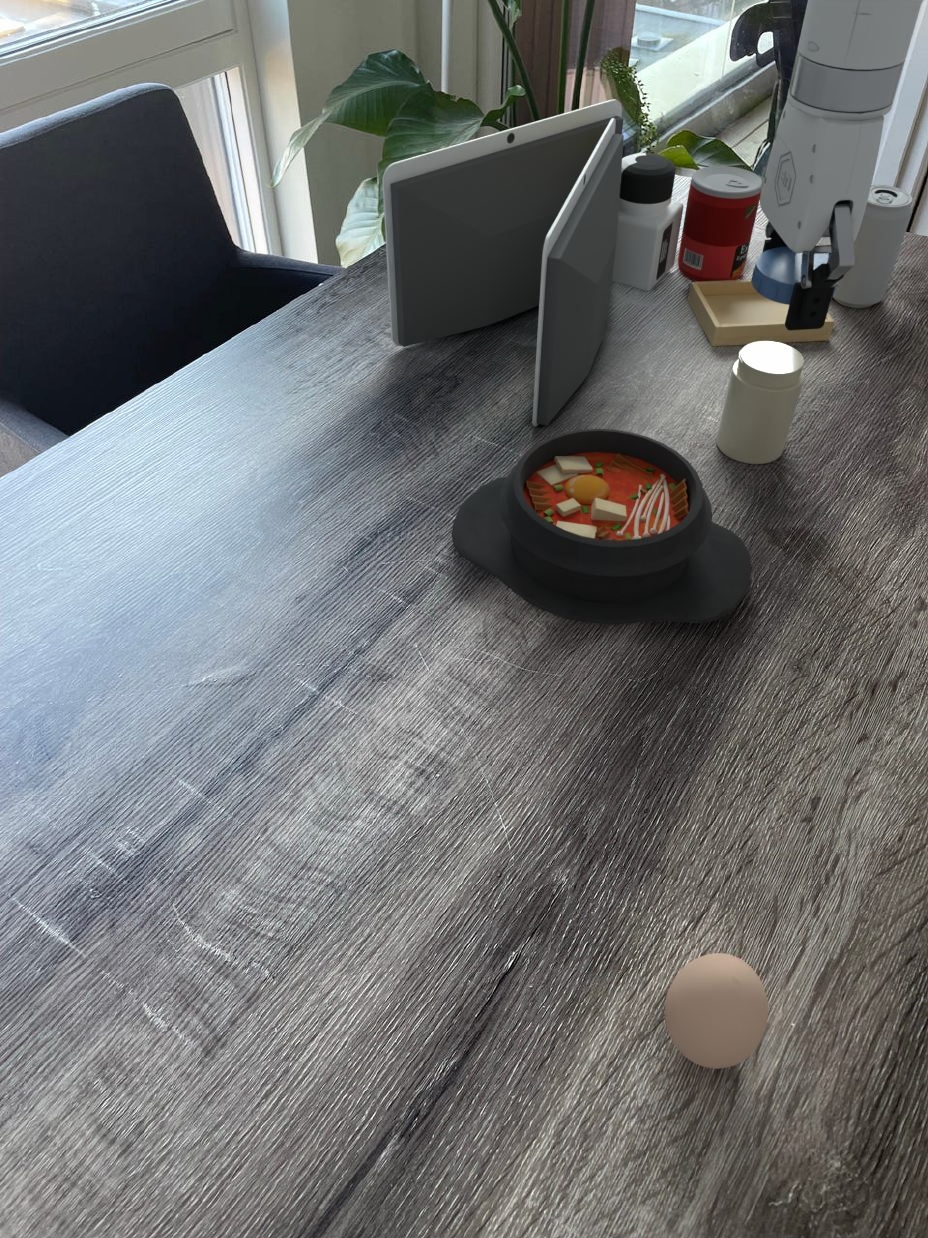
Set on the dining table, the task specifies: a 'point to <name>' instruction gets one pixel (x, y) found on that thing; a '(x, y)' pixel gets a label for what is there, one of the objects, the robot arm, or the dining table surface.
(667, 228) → the container
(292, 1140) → the dining table surface
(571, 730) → the dining table surface
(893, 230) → the beverage can
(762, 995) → the egg
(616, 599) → the casserole
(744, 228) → the canned food
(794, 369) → the jar
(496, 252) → the grey hinged panel
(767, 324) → the tray
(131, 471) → the dining table surface
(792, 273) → the lid
